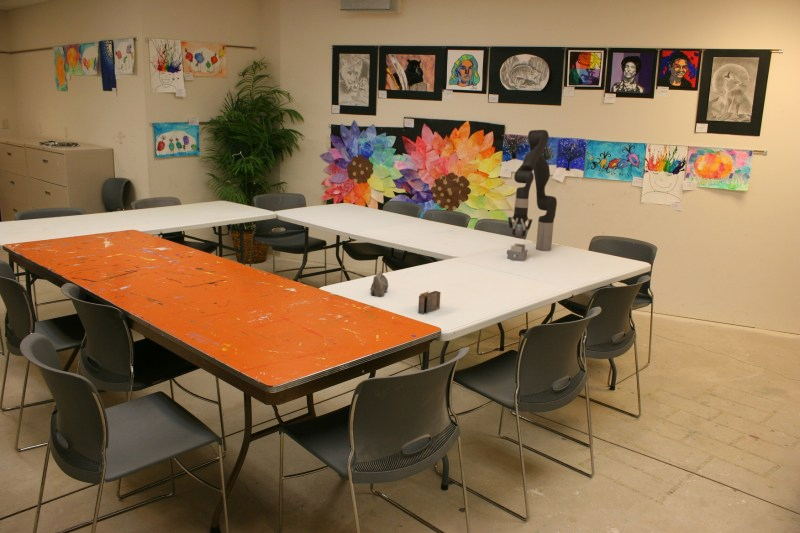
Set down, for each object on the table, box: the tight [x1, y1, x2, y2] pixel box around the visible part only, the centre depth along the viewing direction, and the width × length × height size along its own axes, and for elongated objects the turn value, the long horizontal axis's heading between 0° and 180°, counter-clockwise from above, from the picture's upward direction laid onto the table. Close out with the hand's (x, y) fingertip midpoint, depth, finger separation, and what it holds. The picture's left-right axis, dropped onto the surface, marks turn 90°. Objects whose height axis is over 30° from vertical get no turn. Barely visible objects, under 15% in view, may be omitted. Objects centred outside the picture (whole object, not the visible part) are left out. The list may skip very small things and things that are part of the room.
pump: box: [514, 224, 524, 239], centre depth 381 cm, size 5×5×7 cm
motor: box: [506, 243, 528, 262], centre depth 384 cm, size 12×11×8 cm
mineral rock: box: [370, 271, 389, 297], centre depth 300 cm, size 13×11×10 cm
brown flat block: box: [417, 290, 442, 315], centre depth 276 cm, size 11×3×10 cm, turn 141°
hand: (518, 235), depth 382 cm, fingers closed on pump, 4 cm apart
